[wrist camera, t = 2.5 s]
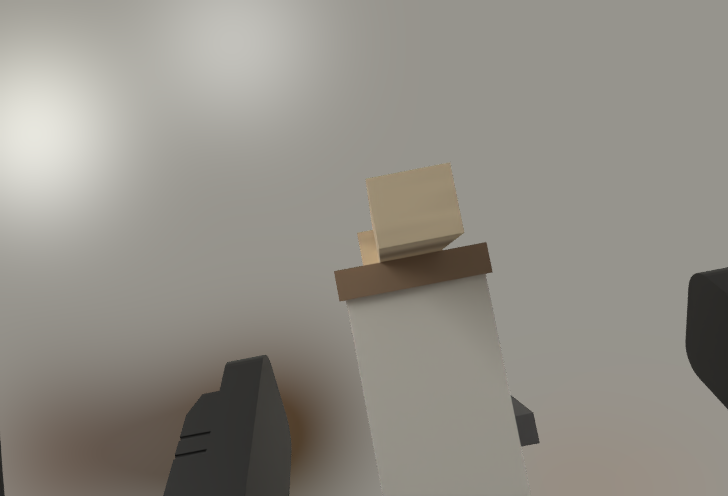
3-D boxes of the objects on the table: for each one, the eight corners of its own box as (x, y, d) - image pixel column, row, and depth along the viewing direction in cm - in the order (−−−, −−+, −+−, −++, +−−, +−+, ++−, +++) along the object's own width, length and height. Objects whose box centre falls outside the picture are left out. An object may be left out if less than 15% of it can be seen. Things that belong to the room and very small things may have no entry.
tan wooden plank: (366, 274, 43) (360, 240, 44) (436, 261, 43) (429, 226, 43) (350, 254, 21) (337, 184, 22) (492, 227, 21) (478, 157, 22)
